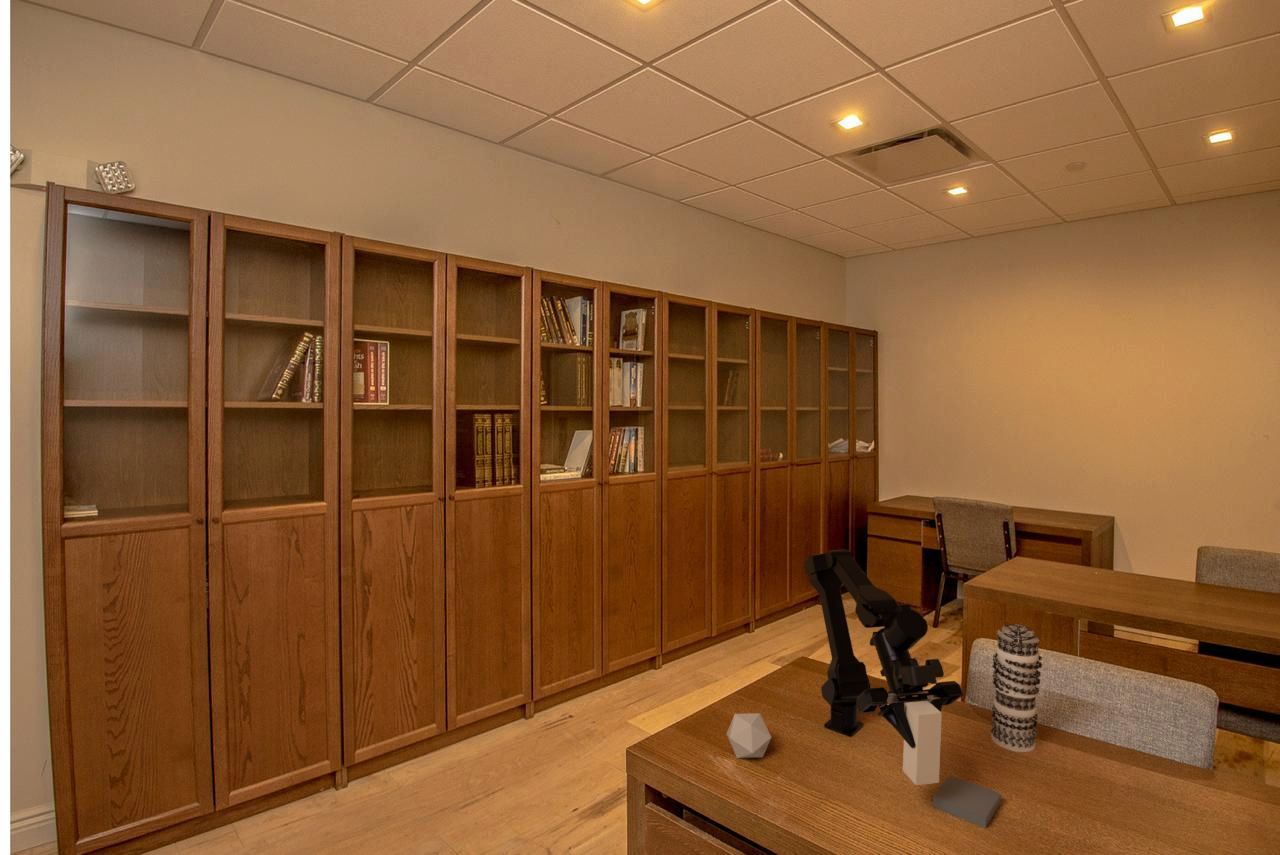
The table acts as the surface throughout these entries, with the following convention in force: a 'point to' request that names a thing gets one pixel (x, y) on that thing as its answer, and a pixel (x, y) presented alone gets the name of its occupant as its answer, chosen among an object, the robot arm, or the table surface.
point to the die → (748, 735)
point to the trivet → (967, 800)
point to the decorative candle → (1015, 688)
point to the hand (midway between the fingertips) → (926, 746)
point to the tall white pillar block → (923, 743)
